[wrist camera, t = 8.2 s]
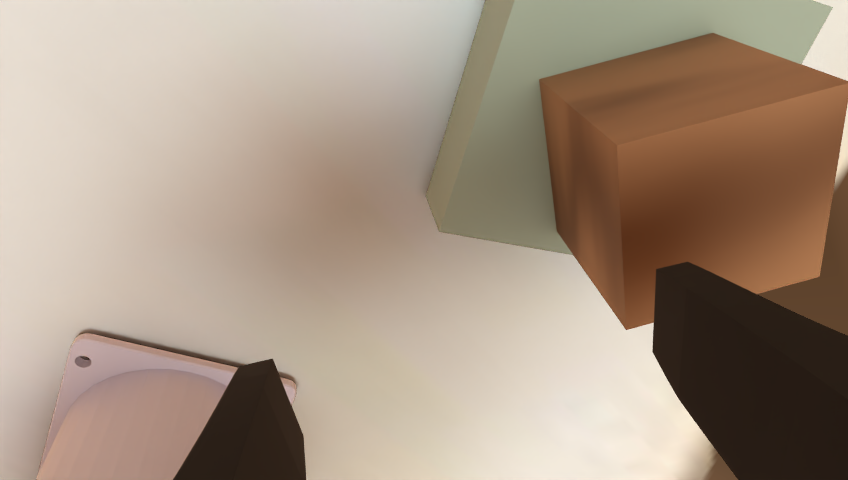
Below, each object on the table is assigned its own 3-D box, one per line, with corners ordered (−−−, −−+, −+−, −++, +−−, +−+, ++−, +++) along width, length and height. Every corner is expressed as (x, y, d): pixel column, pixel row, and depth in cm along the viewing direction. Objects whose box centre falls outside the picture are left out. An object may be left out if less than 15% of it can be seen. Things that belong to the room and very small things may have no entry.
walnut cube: (707, 190, 19) (819, 276, 15) (556, 231, 19) (626, 330, 15) (712, 32, 17) (850, 82, 12) (538, 79, 16) (616, 145, 12)
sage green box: (643, 232, 23) (684, 274, 21) (423, 190, 21) (439, 231, 18) (763, -8, 19) (832, 7, 17) (509, -95, 17) (544, -92, 14)
